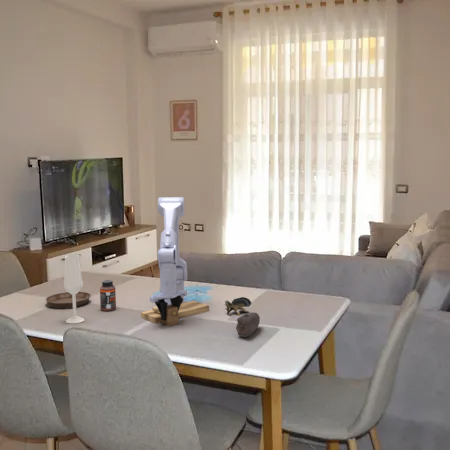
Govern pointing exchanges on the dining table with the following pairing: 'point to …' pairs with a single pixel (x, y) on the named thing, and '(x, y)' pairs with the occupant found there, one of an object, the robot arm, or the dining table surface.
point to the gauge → (169, 315)
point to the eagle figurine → (237, 305)
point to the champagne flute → (73, 282)
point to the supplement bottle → (107, 296)
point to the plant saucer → (67, 299)
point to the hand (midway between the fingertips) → (169, 318)
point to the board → (184, 310)
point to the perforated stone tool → (247, 324)
